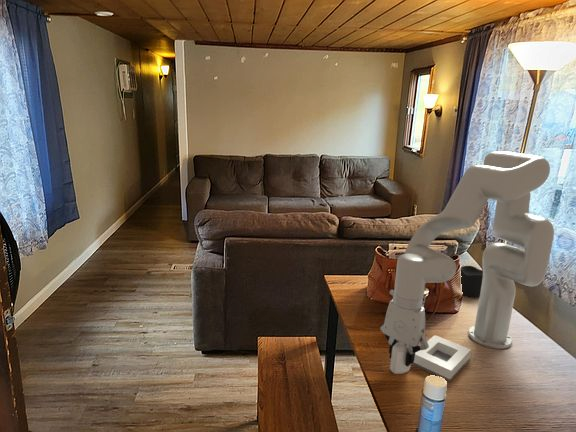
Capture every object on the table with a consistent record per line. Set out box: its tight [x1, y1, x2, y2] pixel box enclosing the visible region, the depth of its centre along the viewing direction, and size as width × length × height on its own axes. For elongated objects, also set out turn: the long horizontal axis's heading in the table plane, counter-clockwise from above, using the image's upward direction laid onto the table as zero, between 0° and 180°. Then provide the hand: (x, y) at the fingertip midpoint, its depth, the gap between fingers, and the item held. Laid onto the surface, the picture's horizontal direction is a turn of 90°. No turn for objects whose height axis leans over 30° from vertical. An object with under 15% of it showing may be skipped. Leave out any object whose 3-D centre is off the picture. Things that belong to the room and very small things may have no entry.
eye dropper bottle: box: [389, 341, 412, 375], centre depth 115 cm, size 4×6×12 cm
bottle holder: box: [411, 334, 472, 383], centre depth 120 cm, size 14×11×4 cm
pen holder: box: [460, 265, 483, 299], centre depth 164 cm, size 9×9×10 cm
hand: (401, 359), depth 115 cm, fingers closed on eye dropper bottle, 4 cm apart
